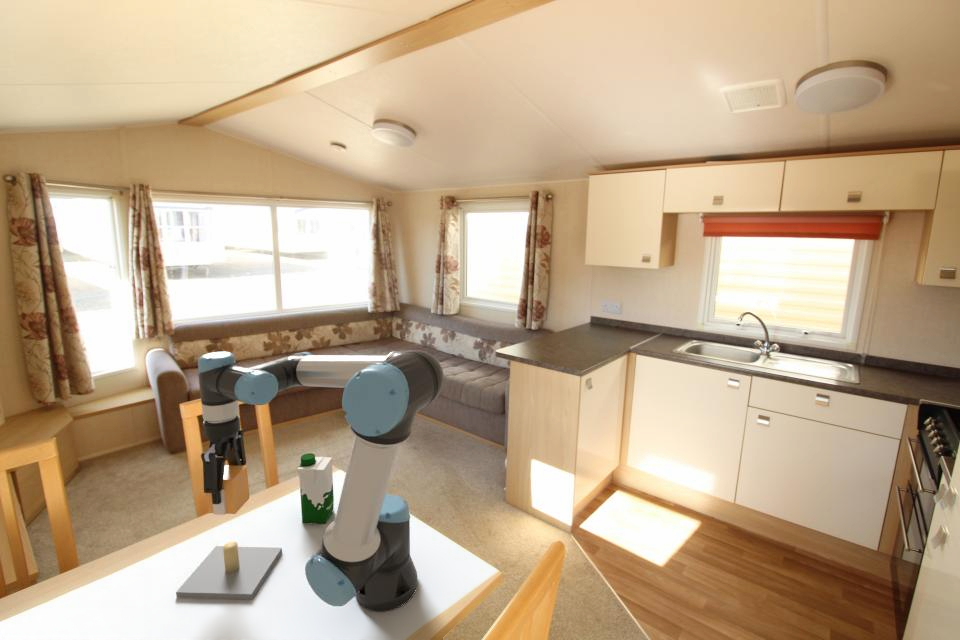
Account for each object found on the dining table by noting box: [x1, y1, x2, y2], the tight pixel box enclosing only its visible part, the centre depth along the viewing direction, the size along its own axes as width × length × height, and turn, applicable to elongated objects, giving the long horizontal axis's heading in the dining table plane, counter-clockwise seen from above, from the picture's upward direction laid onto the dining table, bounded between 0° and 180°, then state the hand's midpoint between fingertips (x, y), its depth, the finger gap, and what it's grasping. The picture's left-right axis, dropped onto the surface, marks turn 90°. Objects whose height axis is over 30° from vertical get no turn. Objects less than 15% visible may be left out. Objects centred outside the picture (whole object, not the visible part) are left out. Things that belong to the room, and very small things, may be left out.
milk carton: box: [297, 452, 335, 525], centre depth 136 cm, size 9×9×20 cm
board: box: [175, 541, 283, 601], centre depth 113 cm, size 18×16×8 cm
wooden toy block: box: [206, 464, 250, 515], centre depth 109 cm, size 6×6×9 cm
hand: (228, 504), depth 110 cm, fingers closed on wooden toy block, 6 cm apart
